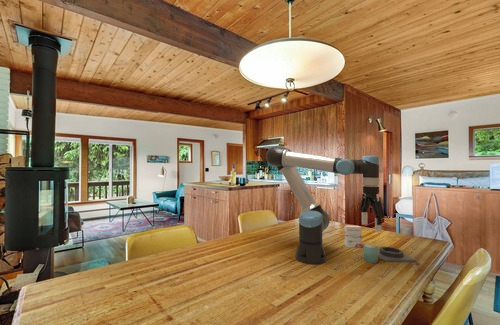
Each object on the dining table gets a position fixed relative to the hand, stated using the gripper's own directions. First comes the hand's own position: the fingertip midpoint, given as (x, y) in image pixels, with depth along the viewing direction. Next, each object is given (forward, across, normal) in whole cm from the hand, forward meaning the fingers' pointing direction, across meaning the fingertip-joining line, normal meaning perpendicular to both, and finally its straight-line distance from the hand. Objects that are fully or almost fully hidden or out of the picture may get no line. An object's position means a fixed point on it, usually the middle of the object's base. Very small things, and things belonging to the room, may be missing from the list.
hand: (371, 227), depth 124 cm
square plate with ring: (+16, +6, -14) cm, 22 cm away
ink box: (+16, +21, 0) cm, 27 cm away
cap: (+16, 0, 0) cm, 16 cm away
